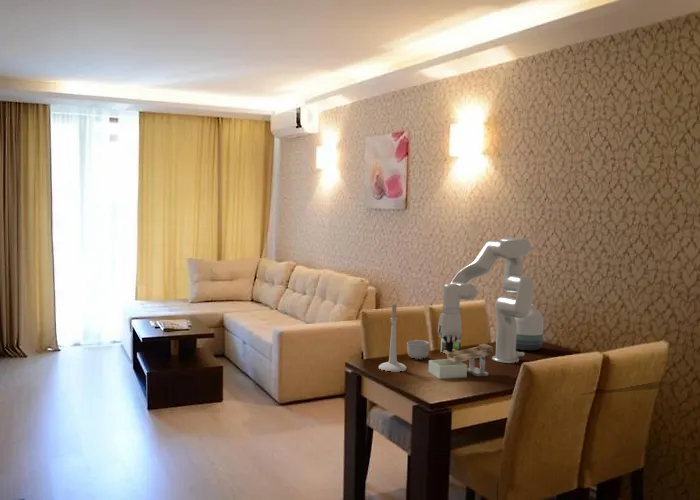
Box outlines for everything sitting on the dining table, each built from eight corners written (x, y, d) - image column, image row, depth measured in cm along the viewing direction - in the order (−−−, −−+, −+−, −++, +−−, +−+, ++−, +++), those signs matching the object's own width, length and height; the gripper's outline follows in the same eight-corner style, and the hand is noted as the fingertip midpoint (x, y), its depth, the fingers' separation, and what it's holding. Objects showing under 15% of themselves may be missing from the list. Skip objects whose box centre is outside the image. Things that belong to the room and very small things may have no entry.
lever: (476, 347, 275) (475, 339, 275) (493, 354, 261) (492, 346, 261) (439, 354, 270) (438, 347, 270) (454, 362, 255) (454, 355, 255)
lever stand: (476, 369, 269) (476, 349, 269) (489, 375, 259) (489, 355, 258) (464, 370, 268) (465, 350, 267) (477, 376, 257) (477, 356, 256)
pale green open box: (454, 370, 266) (455, 358, 266) (466, 377, 255) (467, 364, 255) (428, 372, 262) (428, 360, 262) (439, 379, 252) (439, 366, 251)
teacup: (427, 361, 282) (428, 345, 282) (405, 360, 285) (405, 343, 284) (429, 355, 296) (430, 339, 296) (408, 353, 298) (408, 338, 298)
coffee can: (464, 354, 298) (465, 327, 298) (445, 355, 296) (446, 327, 295) (455, 350, 308) (456, 323, 308) (437, 350, 306) (438, 323, 305)
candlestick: (411, 371, 264) (412, 304, 262) (384, 372, 260) (385, 305, 259) (400, 364, 276) (402, 300, 274) (374, 365, 272) (376, 301, 271)
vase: (504, 345, 322) (506, 302, 321) (534, 345, 324) (535, 302, 322) (516, 352, 305) (518, 306, 304) (547, 352, 307) (549, 306, 306)
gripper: (461, 309, 274) (459, 348, 275) (432, 309, 269) (430, 349, 270) (469, 311, 267) (467, 352, 267) (439, 312, 262) (437, 353, 263)
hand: (449, 350), depth 269 cm, fingers closed
